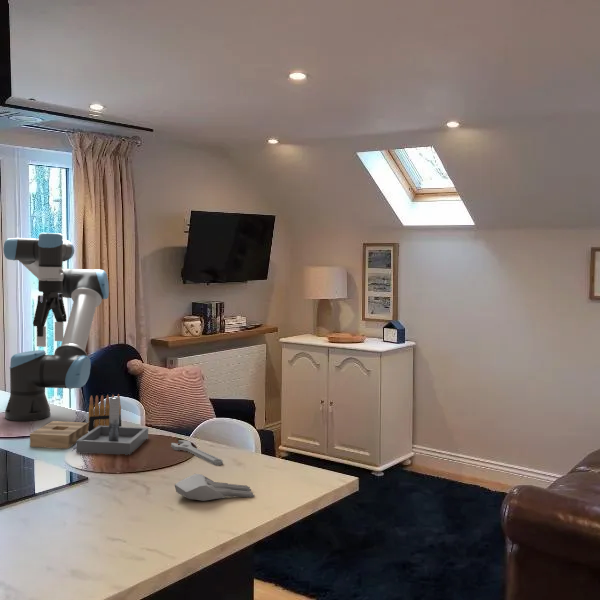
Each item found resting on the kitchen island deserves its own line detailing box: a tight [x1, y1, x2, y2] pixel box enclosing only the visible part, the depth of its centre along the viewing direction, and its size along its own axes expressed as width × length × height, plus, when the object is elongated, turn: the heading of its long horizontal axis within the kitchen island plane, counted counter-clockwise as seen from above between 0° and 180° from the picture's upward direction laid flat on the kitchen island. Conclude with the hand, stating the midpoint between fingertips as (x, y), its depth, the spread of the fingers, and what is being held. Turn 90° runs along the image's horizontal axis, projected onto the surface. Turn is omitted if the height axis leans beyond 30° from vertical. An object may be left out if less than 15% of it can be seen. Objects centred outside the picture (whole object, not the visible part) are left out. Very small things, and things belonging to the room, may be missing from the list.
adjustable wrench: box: [170, 439, 224, 466], centre depth 212 cm, size 25×6×2 cm, turn 35°
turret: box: [174, 473, 255, 502], centre depth 178 cm, size 10×20×5 cm, turn 105°
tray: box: [75, 426, 149, 456], centre depth 220 cm, size 18×16×4 cm
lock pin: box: [109, 396, 121, 442], centre depth 220 cm, size 3×3×14 cm
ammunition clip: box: [87, 393, 122, 432], centre depth 237 cm, size 11×2×12 cm, turn 113°
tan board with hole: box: [29, 420, 89, 450], centre depth 223 cm, size 16×12×4 cm
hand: (50, 343), depth 235 cm, fingers open, 13 cm apart
